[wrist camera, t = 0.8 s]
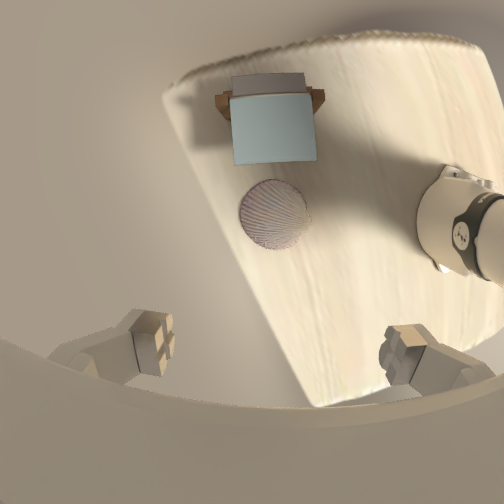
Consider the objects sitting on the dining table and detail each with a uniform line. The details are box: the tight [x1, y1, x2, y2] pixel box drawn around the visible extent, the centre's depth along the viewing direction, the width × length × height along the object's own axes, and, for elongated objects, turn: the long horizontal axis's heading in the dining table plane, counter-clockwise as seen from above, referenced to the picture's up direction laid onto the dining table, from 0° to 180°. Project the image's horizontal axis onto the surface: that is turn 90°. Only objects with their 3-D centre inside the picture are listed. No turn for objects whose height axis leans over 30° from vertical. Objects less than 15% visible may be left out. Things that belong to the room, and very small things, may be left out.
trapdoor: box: [230, 73, 317, 165], centre depth 30 cm, size 9×11×5 cm
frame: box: [215, 87, 325, 120], centre depth 31 cm, size 13×4×8 cm, turn 94°
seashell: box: [240, 179, 311, 250], centre depth 38 cm, size 10×6×10 cm
